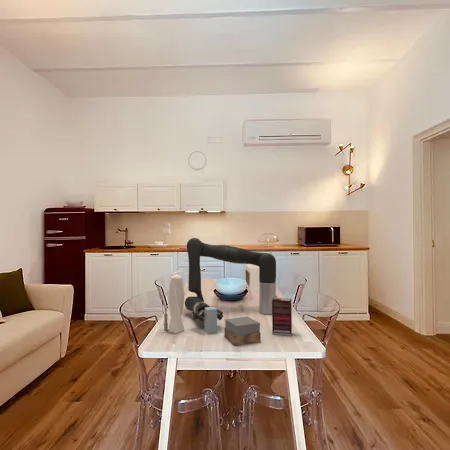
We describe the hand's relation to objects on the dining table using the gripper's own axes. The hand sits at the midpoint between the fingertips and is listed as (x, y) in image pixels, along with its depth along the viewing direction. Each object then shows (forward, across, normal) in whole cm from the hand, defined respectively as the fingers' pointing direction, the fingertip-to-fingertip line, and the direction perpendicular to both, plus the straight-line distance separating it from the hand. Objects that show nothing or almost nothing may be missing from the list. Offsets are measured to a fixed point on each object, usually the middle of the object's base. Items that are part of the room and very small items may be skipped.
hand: (211, 318), depth 155 cm
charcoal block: (+13, +10, +2) cm, 16 cm away
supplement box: (+11, +30, +7) cm, 33 cm away
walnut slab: (+12, +10, +7) cm, 17 cm away
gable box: (-88, +62, +7) cm, 108 cm away
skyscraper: (-9, -15, +7) cm, 19 cm away
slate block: (-2, 0, +7) cm, 7 cm away
